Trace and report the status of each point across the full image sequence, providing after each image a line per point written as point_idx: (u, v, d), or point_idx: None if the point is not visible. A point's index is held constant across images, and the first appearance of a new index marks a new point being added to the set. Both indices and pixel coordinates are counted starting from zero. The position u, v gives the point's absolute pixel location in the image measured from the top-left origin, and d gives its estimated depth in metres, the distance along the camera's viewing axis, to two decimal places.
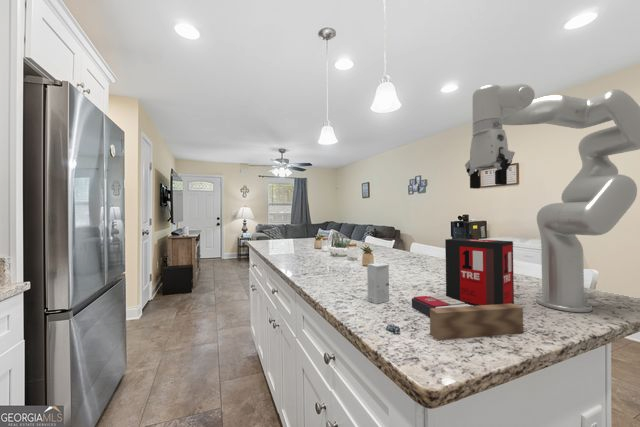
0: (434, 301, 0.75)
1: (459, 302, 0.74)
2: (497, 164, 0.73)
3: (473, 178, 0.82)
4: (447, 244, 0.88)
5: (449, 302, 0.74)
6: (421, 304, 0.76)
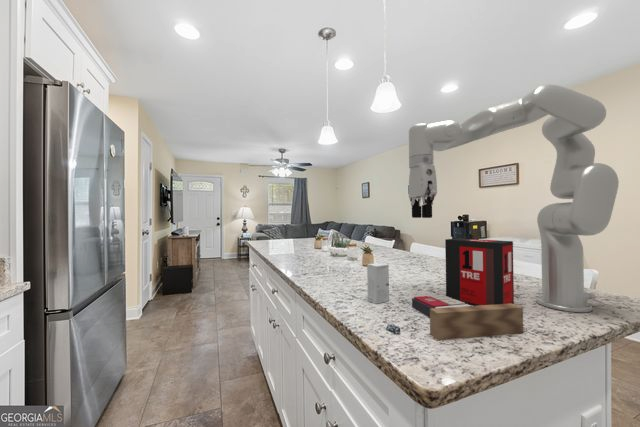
0: (434, 301, 0.75)
1: (459, 302, 0.74)
2: (423, 199, 0.82)
3: (414, 208, 0.89)
4: (447, 244, 0.88)
5: (449, 302, 0.74)
6: (421, 304, 0.76)
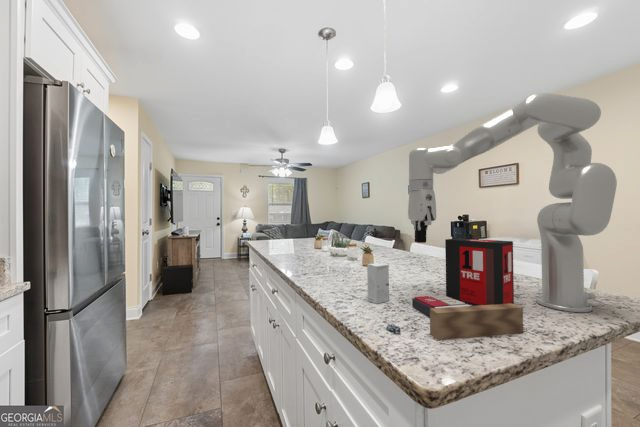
0: (434, 301, 0.75)
1: (459, 302, 0.73)
2: (419, 225, 0.84)
3: None
4: (447, 244, 0.88)
5: (449, 302, 0.74)
6: (421, 304, 0.76)
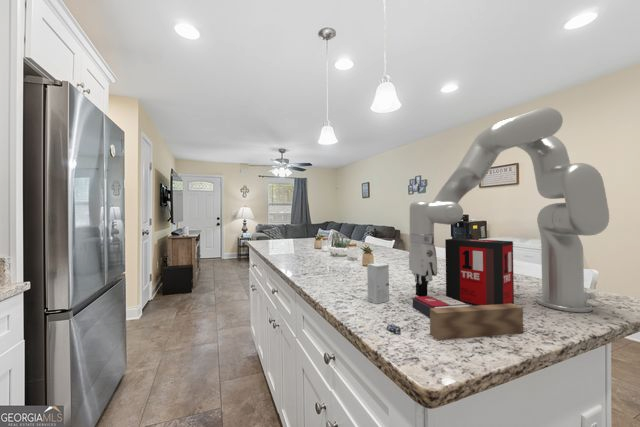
0: (434, 301, 0.75)
1: (460, 303, 0.73)
2: (420, 280, 0.84)
3: None
4: (447, 244, 0.88)
5: (449, 303, 0.73)
6: (421, 304, 0.76)
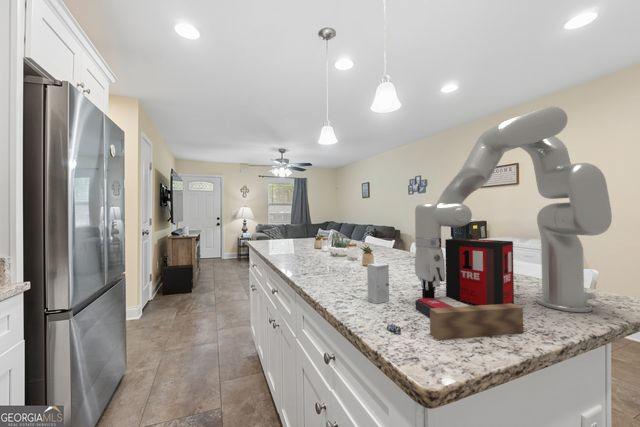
0: (438, 303, 0.73)
1: (464, 305, 0.71)
2: (427, 285, 0.80)
3: None
4: (447, 244, 0.88)
5: (453, 305, 0.72)
6: (424, 306, 0.74)
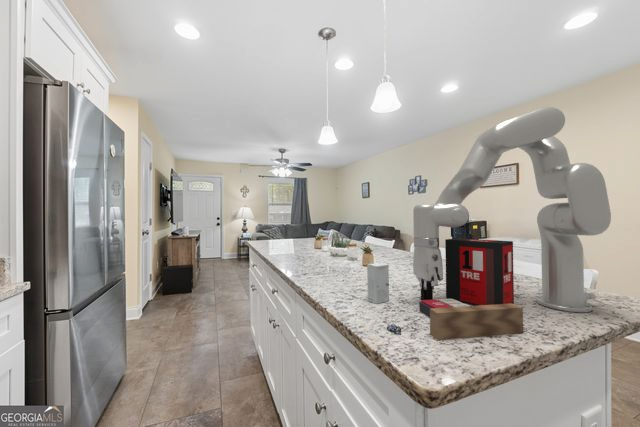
0: (442, 305, 0.71)
1: None
2: (425, 285, 0.81)
3: None
4: (447, 244, 0.88)
5: None
6: (428, 308, 0.72)
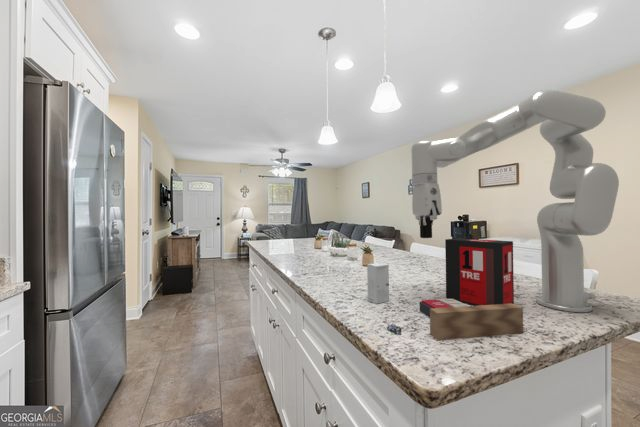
0: (442, 305, 0.71)
1: None
2: (424, 220, 0.82)
3: None
4: (447, 244, 0.88)
5: None
6: (428, 308, 0.73)
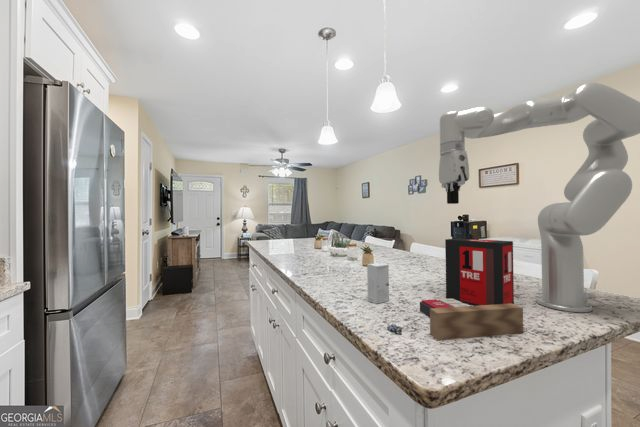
0: (442, 305, 0.71)
1: None
2: (452, 186, 0.87)
3: None
4: (447, 244, 0.88)
5: None
6: (429, 308, 0.73)
